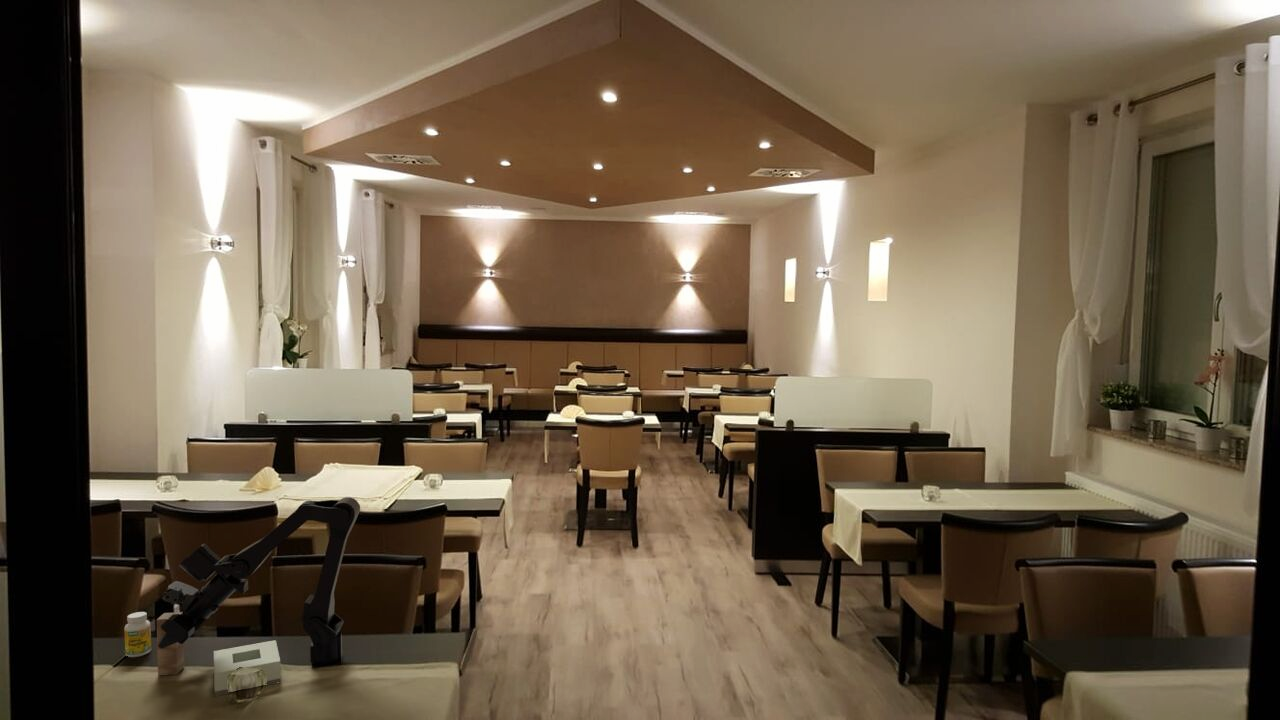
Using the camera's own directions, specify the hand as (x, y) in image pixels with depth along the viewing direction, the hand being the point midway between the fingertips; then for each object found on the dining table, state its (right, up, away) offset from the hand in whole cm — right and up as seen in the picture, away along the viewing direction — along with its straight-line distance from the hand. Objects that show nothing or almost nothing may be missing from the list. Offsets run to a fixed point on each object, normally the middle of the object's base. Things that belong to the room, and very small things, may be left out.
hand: (164, 643), depth 177 cm
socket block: (+20, -7, -2) cm, 22 cm away
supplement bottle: (-13, -6, +10) cm, 18 cm away
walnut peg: (+1, -7, +1) cm, 7 cm away
